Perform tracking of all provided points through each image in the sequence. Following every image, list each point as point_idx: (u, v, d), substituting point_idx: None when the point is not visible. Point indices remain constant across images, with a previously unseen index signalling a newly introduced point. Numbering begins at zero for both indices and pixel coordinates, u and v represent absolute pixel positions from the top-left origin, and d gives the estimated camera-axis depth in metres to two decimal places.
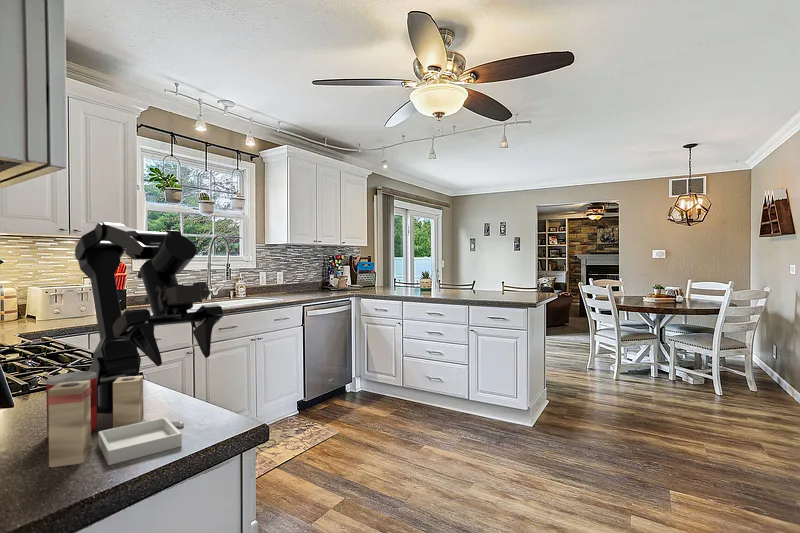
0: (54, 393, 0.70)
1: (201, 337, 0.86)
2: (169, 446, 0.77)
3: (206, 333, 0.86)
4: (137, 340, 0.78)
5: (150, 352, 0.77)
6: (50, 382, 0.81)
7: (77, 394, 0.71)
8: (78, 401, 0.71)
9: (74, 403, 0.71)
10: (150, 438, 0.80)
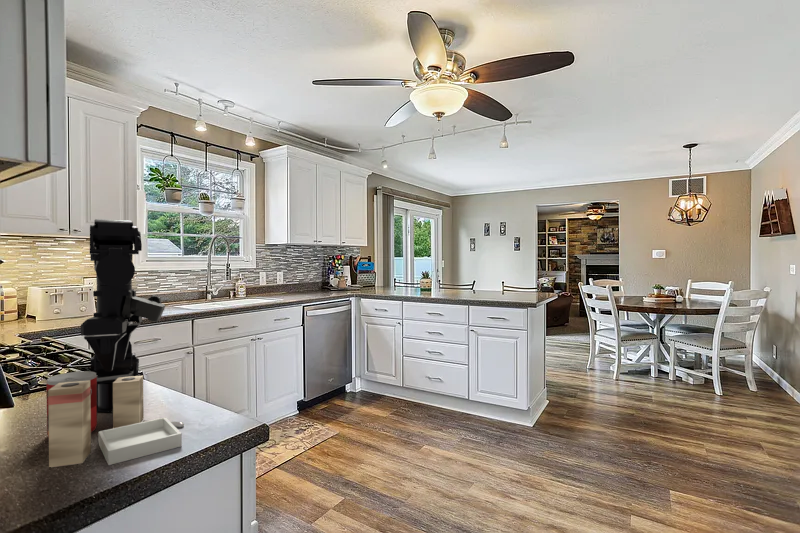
0: (54, 393, 0.70)
1: (119, 339, 0.89)
2: (169, 446, 0.77)
3: (128, 338, 0.90)
4: (96, 341, 0.78)
5: (107, 357, 0.79)
6: (50, 382, 0.81)
7: (77, 394, 0.71)
8: (78, 401, 0.71)
9: (74, 403, 0.71)
10: (150, 438, 0.80)
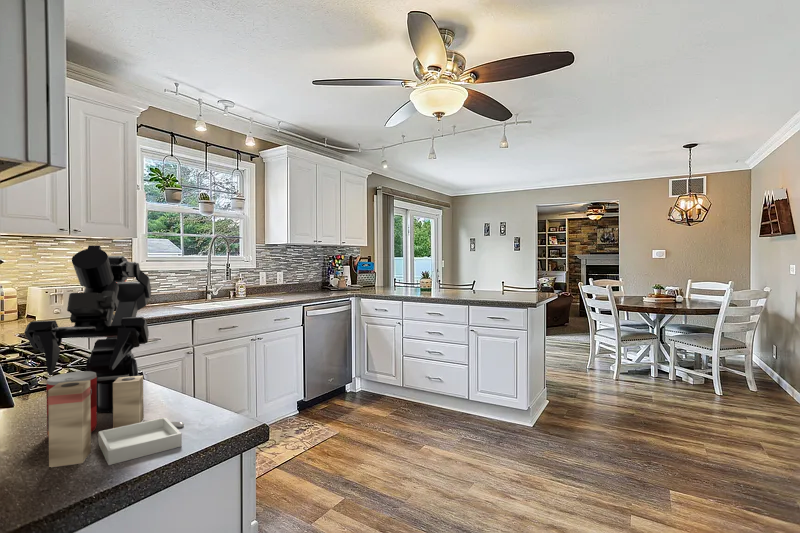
0: (54, 393, 0.70)
1: None
2: (169, 446, 0.77)
3: (117, 345, 0.82)
4: None
5: None
6: (50, 382, 0.81)
7: (77, 394, 0.71)
8: (78, 401, 0.71)
9: (74, 403, 0.71)
10: (150, 438, 0.80)
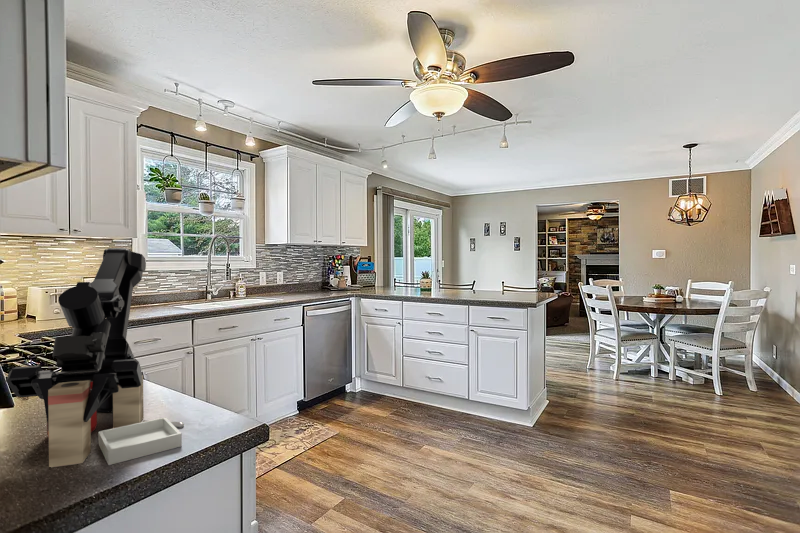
0: (54, 393, 0.70)
1: None
2: (169, 446, 0.77)
3: (92, 393, 0.75)
4: None
5: None
6: None
7: (77, 394, 0.71)
8: (78, 401, 0.71)
9: (74, 403, 0.71)
10: (150, 438, 0.80)
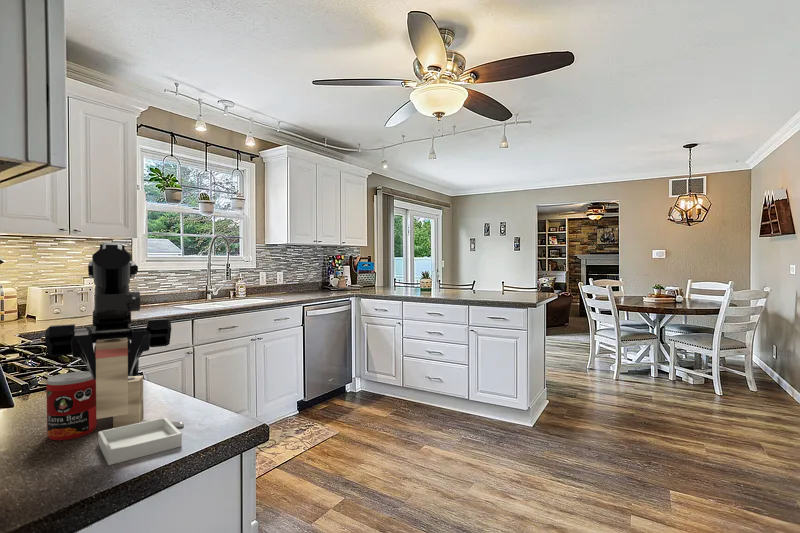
0: (101, 347, 0.73)
1: None
2: (169, 446, 0.77)
3: (132, 349, 0.78)
4: (83, 355, 0.77)
5: (88, 365, 0.74)
6: (50, 382, 0.81)
7: (123, 348, 0.75)
8: (124, 354, 0.75)
9: (120, 357, 0.75)
10: (150, 438, 0.80)
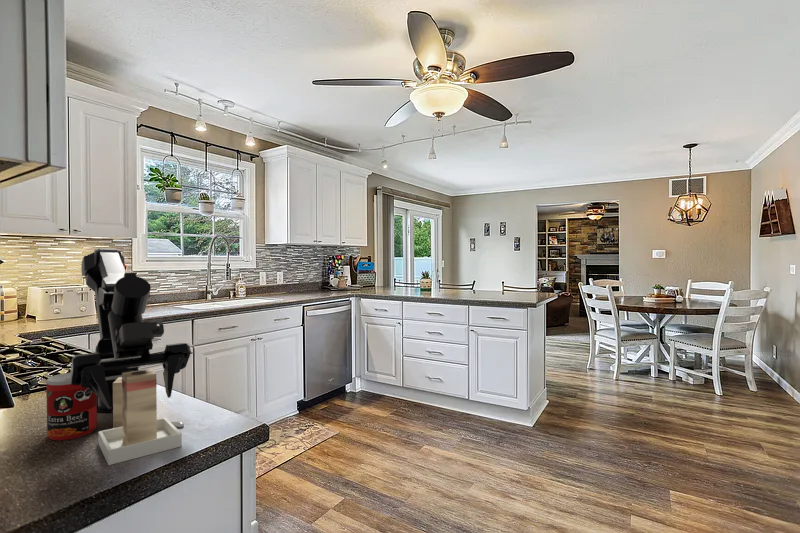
0: (132, 380, 0.76)
1: (166, 377, 0.83)
2: (169, 446, 0.77)
3: (169, 372, 0.83)
4: (93, 385, 0.77)
5: (101, 395, 0.75)
6: (50, 382, 0.81)
7: (152, 380, 0.78)
8: (153, 386, 0.78)
9: (150, 388, 0.78)
10: None
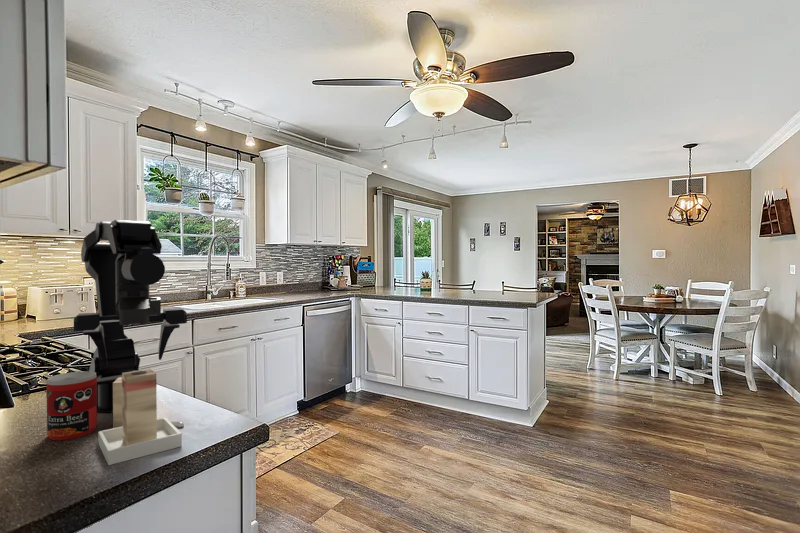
0: (132, 380, 0.76)
1: (160, 338, 0.90)
2: (169, 446, 0.77)
3: (163, 338, 0.89)
4: None
5: None
6: (50, 382, 0.81)
7: (152, 380, 0.78)
8: (153, 386, 0.78)
9: (150, 388, 0.78)
10: None
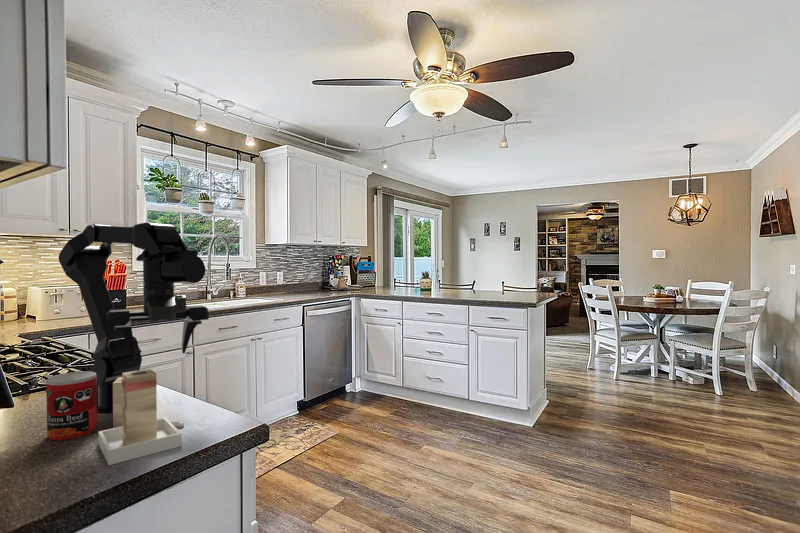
0: (132, 380, 0.76)
1: (184, 333, 0.96)
2: (169, 446, 0.77)
3: (186, 333, 0.95)
4: None
5: None
6: (50, 382, 0.81)
7: (152, 380, 0.78)
8: (153, 386, 0.78)
9: (150, 388, 0.78)
10: None
